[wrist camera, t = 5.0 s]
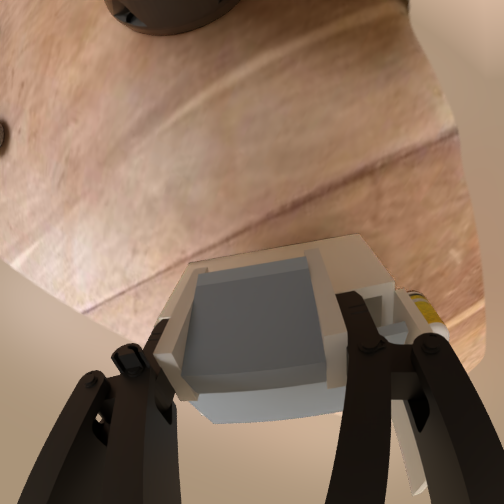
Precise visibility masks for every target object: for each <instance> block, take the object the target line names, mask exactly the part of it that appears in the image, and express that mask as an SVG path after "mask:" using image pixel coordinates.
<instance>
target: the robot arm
mask: <svg viewBox="0 0 504 504" xmlns="http://www.w3.org/2000/svg"><path fill="white" fill-rule="evenodd" d="M104 1H105V3H106V5H107V8H108V10H109V11H110V13H111V14H112V15H113V16H114V17H115V18H116V19H117V20H118V21H119V22H121V23H122V24H124V25H126V26H127V27H129V28H131V29H132V30H135V31H137V32H140V33H144V34H149V35H172V34H178V33H183V32H187V31H190V30H193V29H196V28H199V27H202V26H204V25H206V24H208V23H210V22H212V21H214V20H216V19H218V18H219V17H221V16H222V15H224V14H225V13H227V12H228V11H229V10H231V9H232V8H233V7H234V6H235V5H236V4H237V3H238V2H239V1H240V0H104ZM304 255H305V256H306V258H307V263H308V268H309V272H310V277H311V282H312V287H313V292H314V297H315V302H316V307H317V313H318V318H319V323H320V329H321V335H322V340H323V346H324V352H325V357H326V379H327V381H326V383H327V389H332V388H337V387H342V386H346V391H345V399H344V407H343V414H342V420H341V427H340V433H339V439H338V445H337V450H336V455H335V461H334V466H333V470H332V475H331V480H330V484H329V488H328V493H327V497H326V501H325V504H384V502H385V495H386V488H387V479H388V468H389V456H390V438H391V400H403V402H404V405H405V408H406V411H407V414H408V418H409V421H410V424H411V427H412V430H413V434H414V437H415V440H416V444H417V447H418V451H419V454H420V458H421V462H422V466H423V469H424V473H425V477H426V482H427V486H428V490H429V494H430V499H431V504H504V450H503V447H502V445H501V442H500V440H499V438H498V435H497V433H496V431H495V429H494V426H493V424H492V422H491V420H490V417H489V415H488V413H487V412H486V409H485V407H484V405H483V403H482V401H481V399H480V397H479V395H478V393H477V391H476V389H475V387H474V386H473V384H472V382H471V380H470V378H469V376H468V375H467V373H466V371H465V369H464V367H463V366H462V364H461V362H460V360H459V359H458V357H457V355H456V354H455V352H454V350H453V349H452V347H451V345H450V344H449V342H448V341H447V340H446V338H445V337H444V336H442V335H440V334H438V333H432V332H430V333H423V334H421V335H419V336H417V337H416V338H415V339H414V341H413V344H394V343H390V342H388V340H387V339H386V338H385V337H384V336H382V335H380V334H379V332H378V330H377V328H376V325H375V323H374V321H373V319H372V317H371V314H370V312H369V311H368V308H367V306H366V304H365V301H364V299H363V297H362V296H361V295H360V294H358V293H357V292H356V291H350V292H344V293H339V294H335V293H334V290H333V287H332V284H331V281H330V278H329V275H328V273H327V270H326V267H325V264H324V261H323V259H322V256H321V253H320V250H319V248H314V249H309V250H304ZM208 272H209V271H208V267H202V268H196V269H194V270H193V272H192V274H191V276H190V278H189V280H188V282H187V284H186V286H185V288H184V290H183V292H182V294H181V296H180V298H179V300H178V302H177V304H176V306H175V308H174V310H173V312H172V314H171V316H170V318H168V319H162V320H161V321H160V322H159V323H158V324H157V325H156V326H155V327H154V329H153V331H152V333H151V335H150V337H149V339H148V341H147V343H146V345H145V347H144V349H143V350H142V348H141V347H140V346H139V345H138V344H135V343H131V344H126V345H124V346H121V347H120V348H118V349H117V350H116V351H115V352H114V353H113V354H112V356H111V359H112V360H113V362H114V364H115V365H116V367H117V368H118V370H119V371H120V373H121V374H120V375H118V376H113V377H110V378H106V377H105V375H104V374H103V373H102V372H101V371H98V370H95V371H91V372H88V373H86V374H85V375H84V376H83V377H82V378H81V379H80V380H79V382H78V384H77V385H76V387H75V389H74V391H73V392H72V394H71V396H70V398H69V399H68V401H67V403H66V405H65V406H64V408H63V410H62V412H61V414H60V415H59V417H58V419H57V421H56V423H55V425H54V427H53V428H52V431H51V432H50V434H49V436H48V438H47V440H46V442H45V444H44V446H43V448H42V450H41V452H40V454H39V456H38V458H37V460H36V462H35V464H34V467H33V469H32V471H31V473H30V475H29V477H28V480H27V482H26V484H25V486H24V489H23V491H22V493H21V496H20V498H19V501H18V503H17V504H181V492H180V479H179V464H178V442H177V409H176V405H175V403H174V402H173V397H174V394H175V393H176V395H177V396H178V398H179V400H180V401H198V397H199V394H197V393H196V392H195V391H194V390H193V389H192V388H191V387H190V386H189V385H188V383H187V382H186V381H185V380H184V379H183V378H182V377H181V371H182V364H183V358H184V352H185V346H186V340H187V334H188V328H189V322H190V317H191V311H192V306H193V300H194V295H195V289H196V284H197V279H198V274H202V273H208ZM97 414H99V415H100V416H101V417H102V420H101V421H100V422H98V421H97V420H96V419H95V418H96V416H97Z"/></svg>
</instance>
